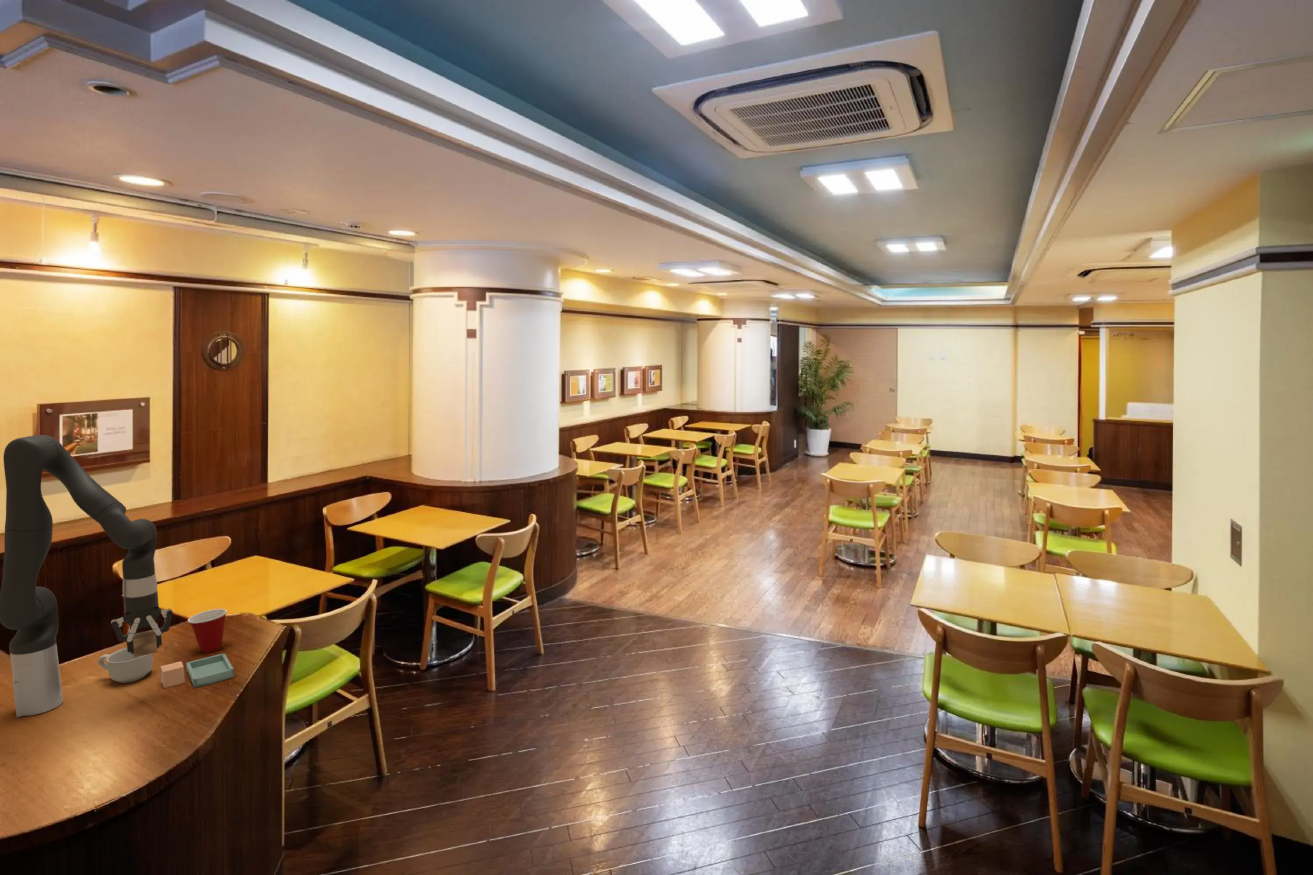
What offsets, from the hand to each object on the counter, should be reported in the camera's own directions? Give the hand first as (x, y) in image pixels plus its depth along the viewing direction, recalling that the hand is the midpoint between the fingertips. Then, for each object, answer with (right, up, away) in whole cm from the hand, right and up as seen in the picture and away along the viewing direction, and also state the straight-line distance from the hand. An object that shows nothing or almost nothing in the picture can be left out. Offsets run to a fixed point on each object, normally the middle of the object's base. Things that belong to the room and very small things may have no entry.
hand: (145, 649), depth 185 cm
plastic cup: (-4, -10, +33) cm, 35 cm away
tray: (+8, -12, +15) cm, 21 cm away
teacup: (-15, -13, +13) cm, 24 cm away
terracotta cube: (+1, -13, +10) cm, 16 cm away
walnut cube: (0, 0, 0) cm, 0 cm away
